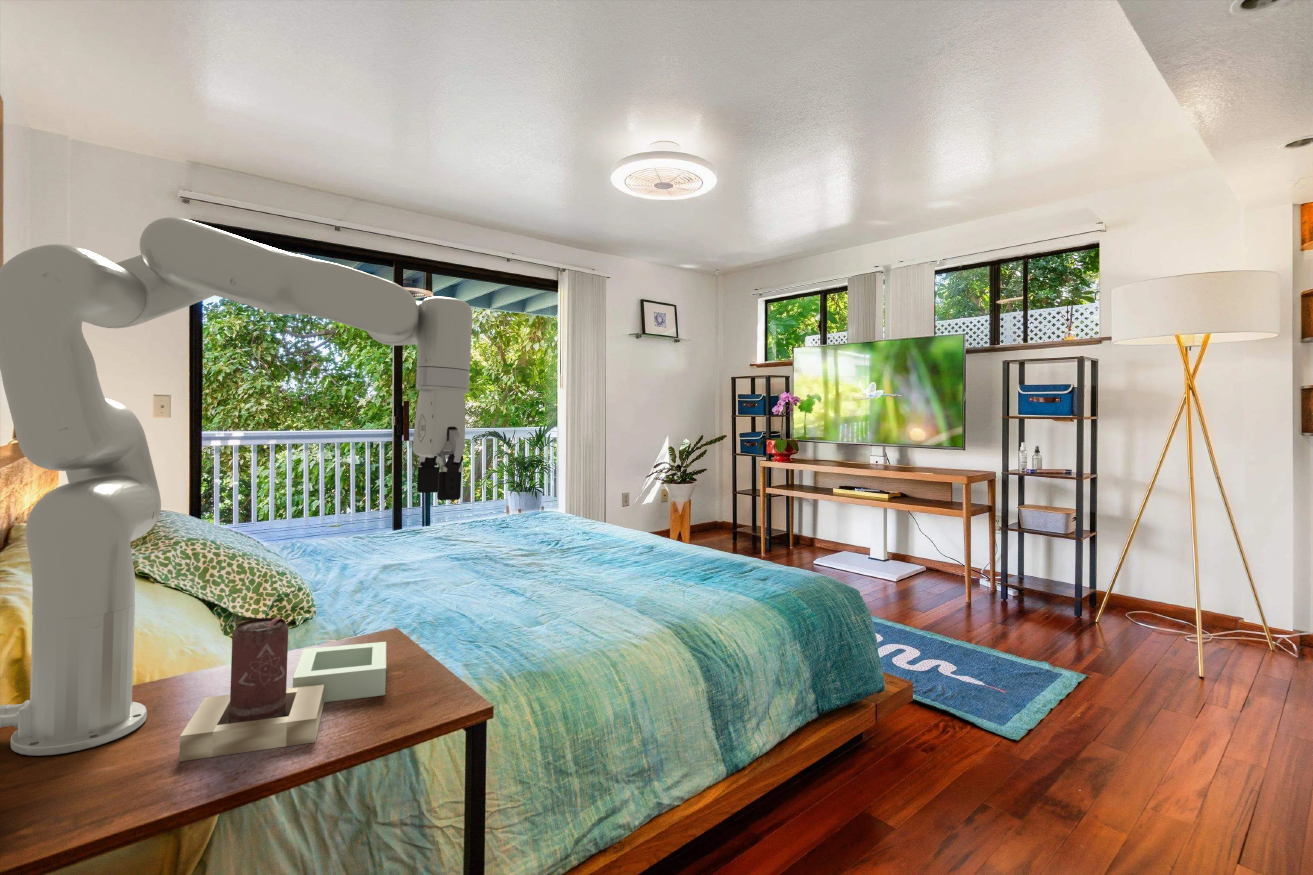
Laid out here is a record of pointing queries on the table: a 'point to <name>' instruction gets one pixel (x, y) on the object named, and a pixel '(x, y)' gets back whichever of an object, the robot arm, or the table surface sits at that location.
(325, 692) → the pale green square frame
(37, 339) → the robot arm
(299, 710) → the socket block
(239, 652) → the can
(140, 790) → the table surface
